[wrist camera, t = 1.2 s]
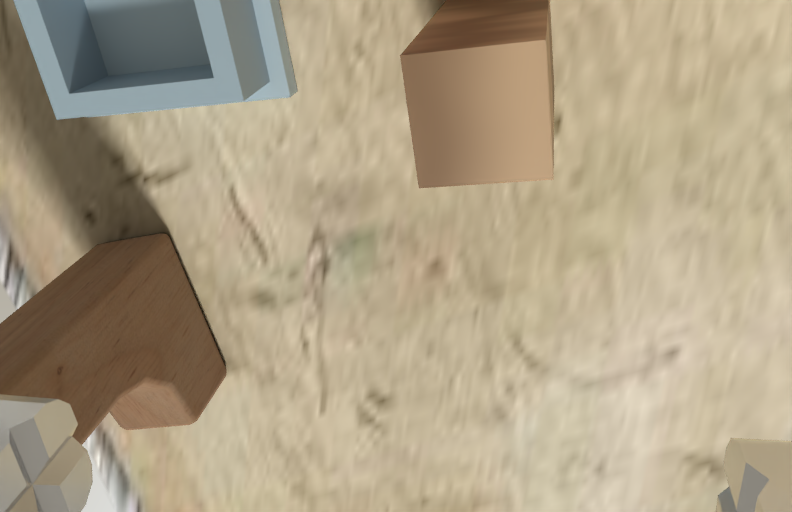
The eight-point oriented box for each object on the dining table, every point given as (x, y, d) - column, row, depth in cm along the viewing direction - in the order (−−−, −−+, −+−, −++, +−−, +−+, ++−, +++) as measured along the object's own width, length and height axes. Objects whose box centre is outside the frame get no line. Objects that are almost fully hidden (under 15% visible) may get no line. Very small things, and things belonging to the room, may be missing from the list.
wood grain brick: (549, -13, 28) (545, 39, 19) (554, 89, 30) (553, 179, 21) (447, 0, 29) (399, 55, 20) (457, 98, 31) (419, 188, 22)
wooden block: (231, 373, 40) (26, 690, 25) (162, 380, 42) (-75, 686, 26) (169, 228, 37) (-118, 494, 21) (95, 242, 38) (-227, 501, 22)
